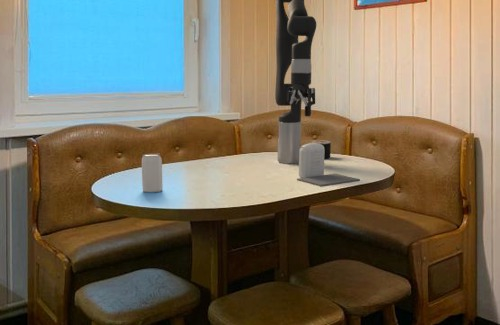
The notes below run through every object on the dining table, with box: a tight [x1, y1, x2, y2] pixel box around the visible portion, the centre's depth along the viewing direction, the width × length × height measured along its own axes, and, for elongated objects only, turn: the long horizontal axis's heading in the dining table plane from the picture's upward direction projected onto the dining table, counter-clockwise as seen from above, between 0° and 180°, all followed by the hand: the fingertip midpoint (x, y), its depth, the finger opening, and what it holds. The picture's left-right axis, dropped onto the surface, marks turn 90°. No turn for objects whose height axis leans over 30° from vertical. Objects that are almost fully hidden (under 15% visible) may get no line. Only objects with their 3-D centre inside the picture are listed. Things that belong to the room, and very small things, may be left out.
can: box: [141, 152, 164, 193], centre depth 179 cm, size 6×6×12 cm
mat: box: [296, 173, 361, 187], centre depth 196 cm, size 13×18×1 cm
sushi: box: [311, 139, 332, 160], centre depth 246 cm, size 8×8×8 cm
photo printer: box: [298, 142, 325, 178], centre depth 203 cm, size 10×4×12 cm, turn 123°
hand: (300, 115), depth 207 cm, fingers open, 8 cm apart
